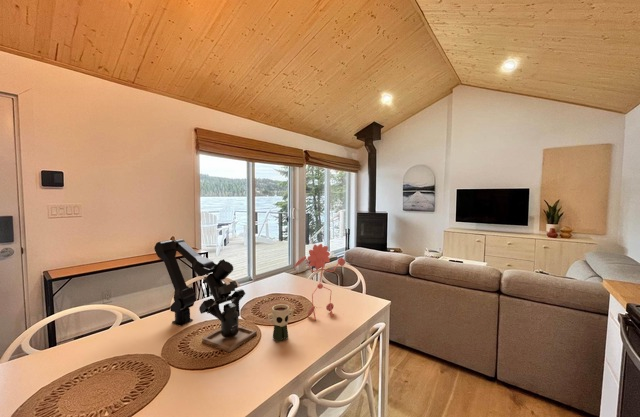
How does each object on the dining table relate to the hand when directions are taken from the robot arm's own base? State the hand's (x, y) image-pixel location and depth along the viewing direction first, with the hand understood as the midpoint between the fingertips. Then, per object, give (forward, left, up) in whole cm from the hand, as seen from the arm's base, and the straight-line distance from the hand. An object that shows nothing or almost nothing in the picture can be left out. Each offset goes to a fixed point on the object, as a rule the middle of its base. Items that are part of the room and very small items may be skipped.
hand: (231, 318), depth 113 cm
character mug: (+17, +10, -9) cm, 22 cm away
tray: (-1, 0, -8) cm, 9 cm away
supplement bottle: (-1, 0, -7) cm, 7 cm away
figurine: (+19, +39, -9) cm, 44 cm away
